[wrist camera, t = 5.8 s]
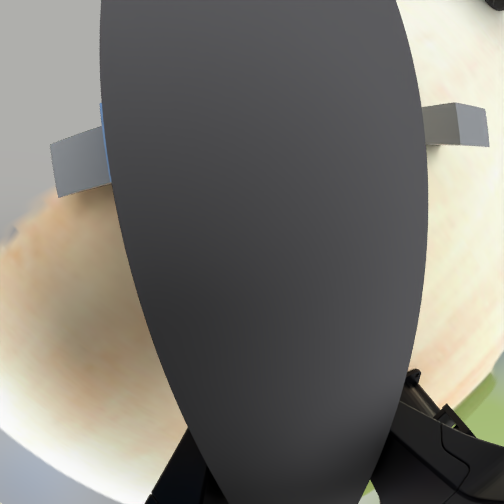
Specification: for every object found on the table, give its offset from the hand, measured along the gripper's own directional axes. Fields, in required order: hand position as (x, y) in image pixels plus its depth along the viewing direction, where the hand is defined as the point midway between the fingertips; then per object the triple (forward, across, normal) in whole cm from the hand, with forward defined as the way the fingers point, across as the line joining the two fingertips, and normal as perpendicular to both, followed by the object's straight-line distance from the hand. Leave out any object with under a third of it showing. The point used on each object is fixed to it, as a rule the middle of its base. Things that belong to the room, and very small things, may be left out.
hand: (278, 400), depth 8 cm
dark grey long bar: (+1, 0, -4) cm, 4 cm away
